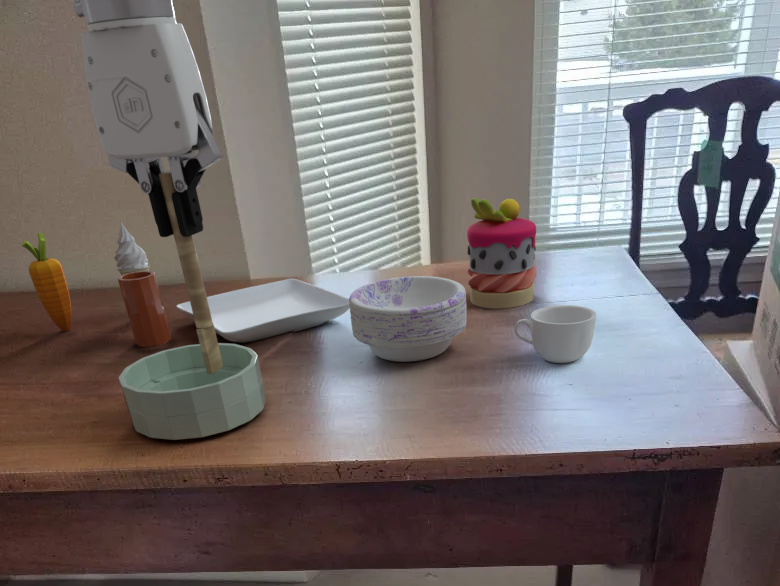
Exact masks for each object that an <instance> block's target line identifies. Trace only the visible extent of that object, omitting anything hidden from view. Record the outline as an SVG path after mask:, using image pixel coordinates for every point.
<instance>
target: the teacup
mask: <svg viewBox="0 0 780 586" xmlns="http://www.w3.org/2000/svg"><path fill="white" fill-rule="evenodd" d="M596 318H597V313H596V311H595V310H593V309H592V308H589V307H586V306H581V305H573V304H572V305H571V304H561V305H559V304H557V305H549V306H544V307H541V308H537V309H535V310H533V311H532V312H531V313H530V319H528V318H522V319H519V320H518V321H517V322H516V323H515V325H514V333H515V335H516V337H517V338H519V339H520V340H521V341H522V342H525V343H527V344H530V345H532V346H533V349H534V350H535V352H536V354H537V355H538V356H539V357H540V358H542V359H544V360H545V361H546V362H550V363H554V364H555V363H556V364H567V363H573V362H576V361H577V360H579V359H581V358H582V357H583V356H585V354H586V353H587V352H588V351H589V349H590V348H591V345H592V342H593V338H594V334H595V325H596V320H597V319H596ZM522 324H524V325H525V326H526V327H527V328H528V330H529V331H530V335H531V337H527V336H524V335H522V334H521V333H520V331H519V328H520V327H519V326H520V325H522Z"/></svg>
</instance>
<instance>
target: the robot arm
mask: <svg viewBox="0 0 780 586" xmlns="http://www.w3.org/2000/svg"><path fill="white" fill-rule="evenodd" d="M73 9H74V12H75V14H76V16H77V17H79V18H80V19H81V18H84V19H85V23H86V26H87V27H86V28H87V30H88V31H87V32H81V48H82V49H81V50H82V51H81V52H82V60H83V67H84V74H85V82H86V86H87V91H88V97H89V100H90V101H89V102H90V106H91V111H92V115H93V121H94V123H95V127H96V131H97V135H98V139H99V142H100V146H101V149H102V150H103V152H104V153H105V155H107V156H108V163H109V166H111V167H112V168H113V169H116V170H118V171H121V172H123V173H127V174H128V175H129V176H130V177H131V178H132V179H133V180H134V181H135V182H136V183H137V184H138V185H139V187H140V190H141V191H142V192H143V193H144V194H145V195H148V199H149V202H150V207H151V210H152V215H153V218H154V222H155V224H156V227H157V231H158V234H159V236H160V237H161V238H169V237H171V236H174V235H173V230H172V226H171V222H170V218H169V214H168V210H167V206H166V202H165V198H164V194H163V190H162V186H161V182H160V178H159V173H161V172H165V169H164V165H163V161H162V158H165V157H166V158H167V161H168V165H169V166H168V167H169V169H170V170H169V171H171V174H172V179H173V183H174V187H175V189H176V192H174V193H172V201H173V205H174V209H175V214H176V218H177V222H178V226H179V230H180V234H181V235H182V236H183V237H189V236H191V235H192V236H193V235H196V234H198V233H201V232H203V231H204V224H203V219H204V218H203V214H202V210H201V204H200V200H199V196H198V191H197V188H199V187H200V186H201V180H202V178H203V175H204V173H205V172H206V170H207V169H208V168H210V167H212V166H213V165H215V164H217V163H218V162H219V161H221V160H222V159H223V154H222V151H221V149H220V147H219V145H218V143H217V141H216V139H215V137H214V128H213V121H212V117H211V112H210V107H209V103H208V99H207V94H206V91H205V87H204V83H203V79H202V76H201V73H200V70H199V65H198V63H197V60H196V57H195V53H194V52H193V49H192V46H191V43H190V41H189V37H188V35H187V33H186V31H185V28H184V26H183V23H179V22H178V23H177V19H176V15H175V10H174V6H173V0H73ZM195 151H198V153H197V154H195Z"/></svg>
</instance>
